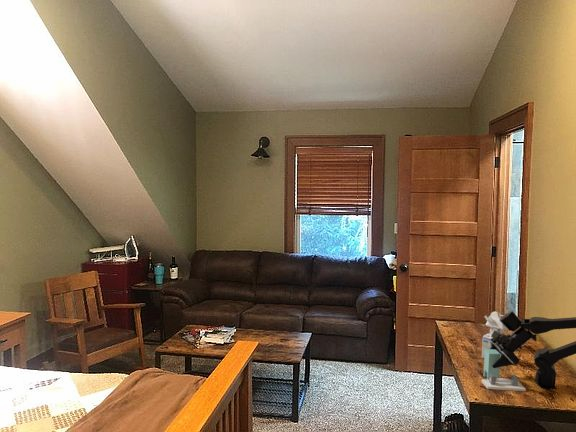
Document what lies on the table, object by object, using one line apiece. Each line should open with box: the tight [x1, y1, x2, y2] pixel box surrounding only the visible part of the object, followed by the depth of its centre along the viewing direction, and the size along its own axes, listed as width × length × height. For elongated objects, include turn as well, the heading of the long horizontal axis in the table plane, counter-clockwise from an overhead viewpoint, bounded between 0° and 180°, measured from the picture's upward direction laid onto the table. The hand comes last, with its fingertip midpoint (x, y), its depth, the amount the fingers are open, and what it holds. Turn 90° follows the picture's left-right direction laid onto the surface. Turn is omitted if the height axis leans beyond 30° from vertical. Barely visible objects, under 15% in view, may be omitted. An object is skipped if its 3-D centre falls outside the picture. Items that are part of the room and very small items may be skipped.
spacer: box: [483, 349, 500, 380], centre depth 199 cm, size 4×5×12 cm
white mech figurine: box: [483, 311, 507, 334], centre depth 238 cm, size 12×13×18 cm
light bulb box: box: [481, 333, 505, 359], centre depth 222 cm, size 11×7×11 cm, turn 47°
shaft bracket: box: [481, 374, 527, 392], centre depth 192 cm, size 15×7×4 cm, turn 86°
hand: (489, 362), depth 199 cm, fingers open, 9 cm apart
